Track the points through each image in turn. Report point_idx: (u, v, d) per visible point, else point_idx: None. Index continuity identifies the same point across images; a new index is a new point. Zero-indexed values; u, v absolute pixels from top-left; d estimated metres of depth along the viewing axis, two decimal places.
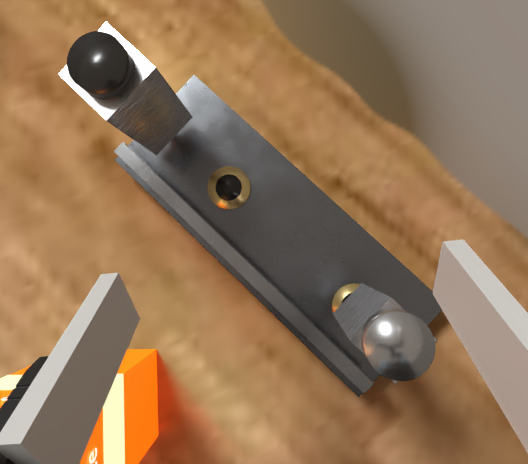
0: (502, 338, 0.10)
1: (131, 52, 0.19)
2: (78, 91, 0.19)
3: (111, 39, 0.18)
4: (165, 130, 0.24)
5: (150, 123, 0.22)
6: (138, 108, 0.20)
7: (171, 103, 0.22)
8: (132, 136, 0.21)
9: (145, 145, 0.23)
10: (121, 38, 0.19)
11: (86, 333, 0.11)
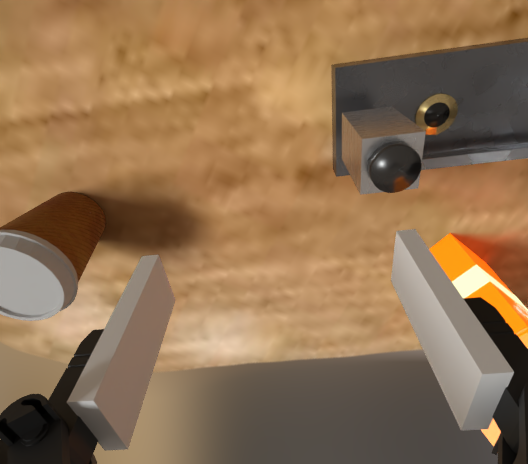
0: (436, 316, 0.11)
1: (399, 139, 0.22)
2: (383, 190, 0.24)
3: (394, 150, 0.21)
4: None
5: None
6: None
7: None
8: None
9: None
10: (383, 138, 0.22)
11: (136, 308, 0.12)
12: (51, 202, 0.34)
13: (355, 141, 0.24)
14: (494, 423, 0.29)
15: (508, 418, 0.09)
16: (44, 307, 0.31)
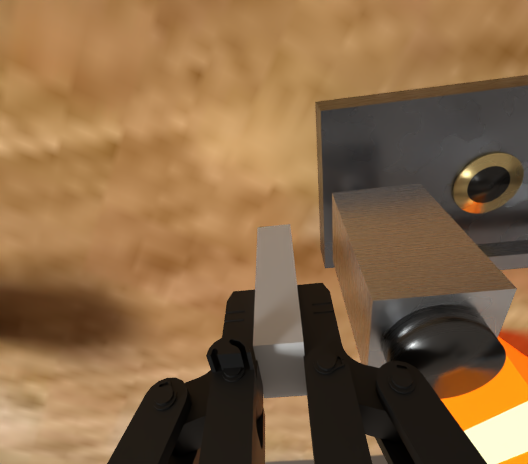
0: None
1: (455, 300, 0.10)
2: None
3: (449, 337, 0.09)
4: None
5: None
6: None
7: None
8: None
9: None
10: (420, 299, 0.10)
11: None
12: None
13: (357, 277, 0.12)
14: None
15: None
16: None
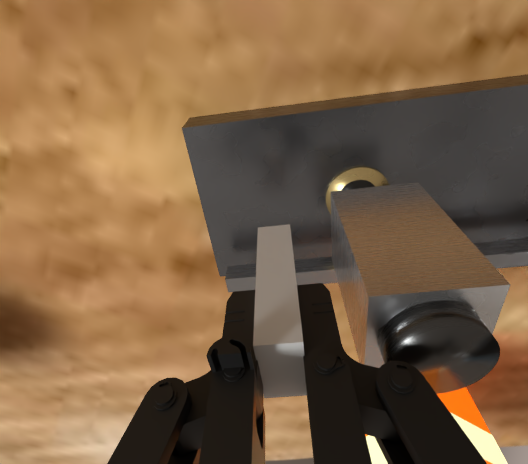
0: None
1: (450, 296, 0.10)
2: None
3: (443, 332, 0.09)
4: None
5: None
6: None
7: None
8: None
9: None
10: (415, 295, 0.10)
11: None
12: None
13: (354, 274, 0.12)
14: None
15: None
16: None
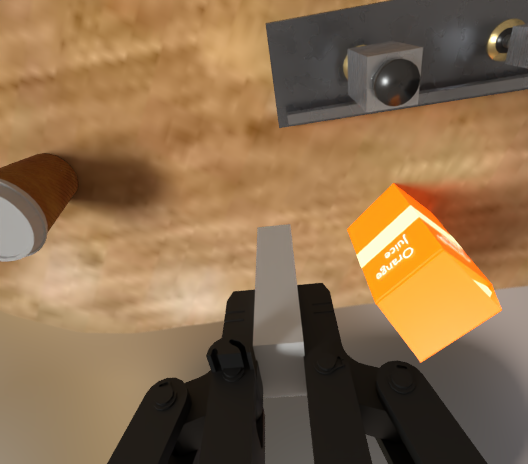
0: None
1: (400, 55, 0.25)
2: (387, 108, 0.27)
3: (396, 63, 0.24)
4: None
5: None
6: None
7: None
8: None
9: None
10: (386, 55, 0.25)
11: None
12: (24, 160, 0.38)
13: (360, 65, 0.27)
14: (416, 336, 0.32)
15: None
16: (18, 248, 0.35)
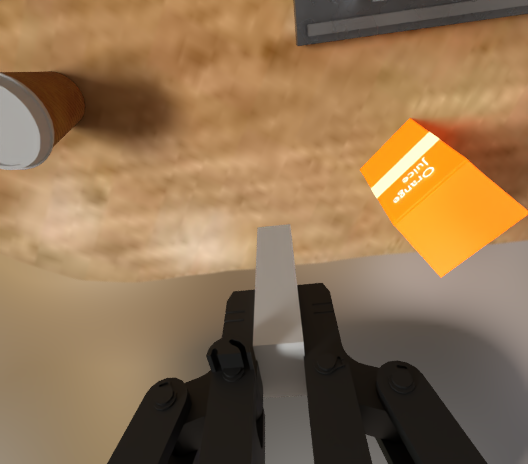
0: None
1: None
2: None
3: None
4: None
5: None
6: None
7: None
8: None
9: None
10: None
11: None
12: None
13: None
14: (437, 251, 0.31)
15: None
16: (22, 155, 0.33)
